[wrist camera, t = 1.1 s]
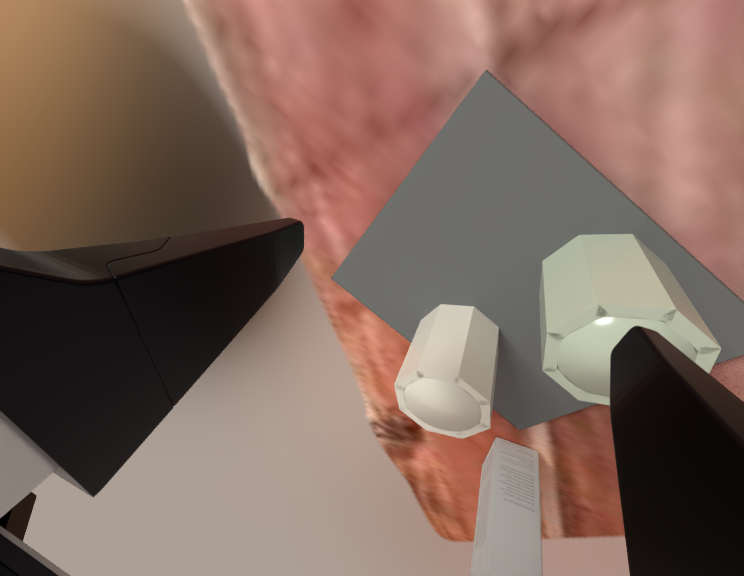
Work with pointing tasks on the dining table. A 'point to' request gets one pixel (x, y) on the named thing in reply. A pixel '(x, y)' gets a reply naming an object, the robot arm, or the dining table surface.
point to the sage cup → (610, 310)
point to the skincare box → (508, 513)
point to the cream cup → (450, 372)
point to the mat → (508, 242)
